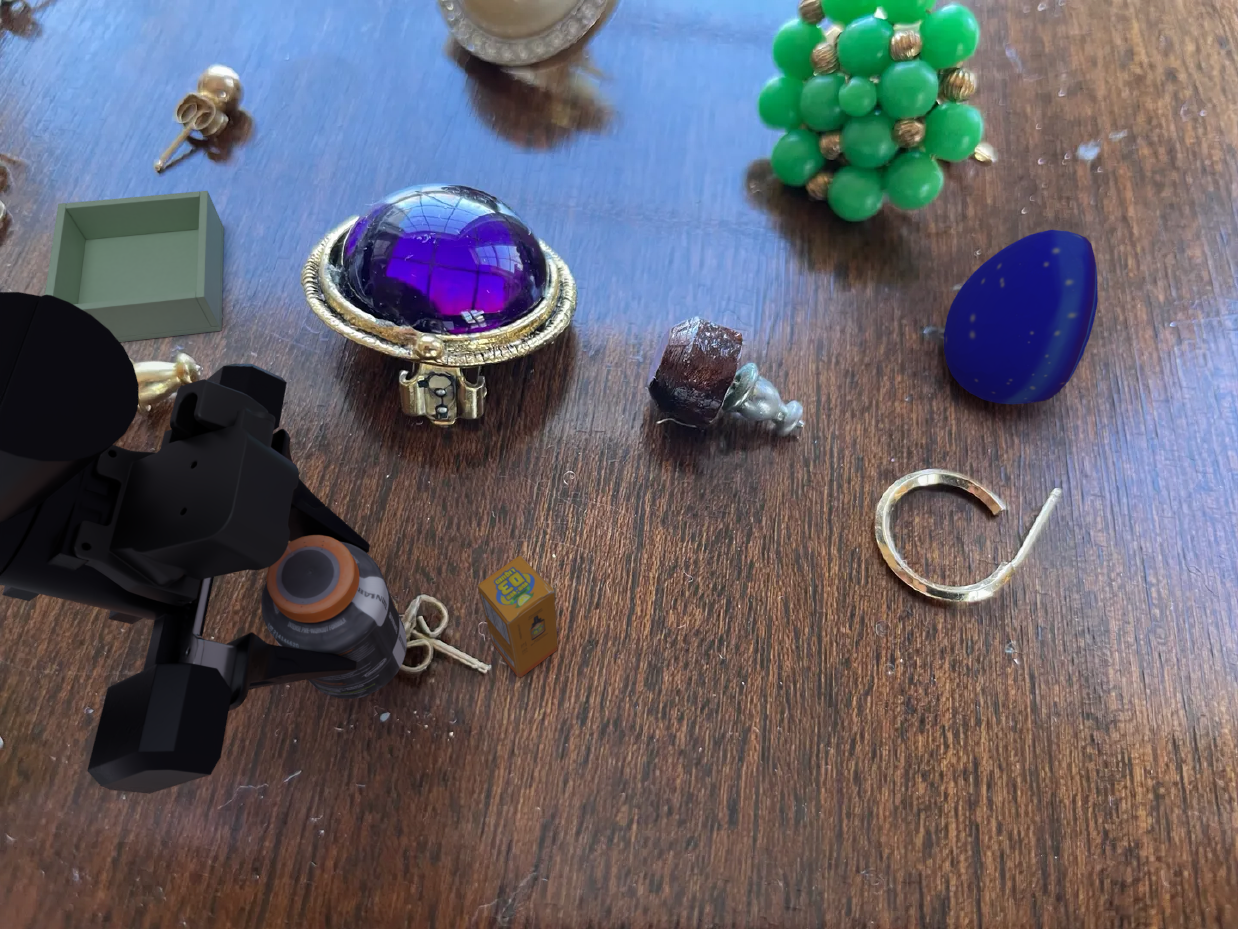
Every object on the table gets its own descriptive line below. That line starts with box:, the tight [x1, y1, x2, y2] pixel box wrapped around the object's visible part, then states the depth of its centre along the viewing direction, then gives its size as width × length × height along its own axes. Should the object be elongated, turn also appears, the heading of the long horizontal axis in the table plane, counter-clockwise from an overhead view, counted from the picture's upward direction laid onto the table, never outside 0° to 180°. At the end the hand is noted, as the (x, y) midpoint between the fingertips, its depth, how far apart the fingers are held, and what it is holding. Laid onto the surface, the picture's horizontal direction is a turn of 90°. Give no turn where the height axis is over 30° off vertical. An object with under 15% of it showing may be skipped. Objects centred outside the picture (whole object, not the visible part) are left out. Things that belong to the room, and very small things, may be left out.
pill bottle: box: [260, 535, 408, 700], centre depth 45 cm, size 6×6×11 cm
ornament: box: [943, 229, 1099, 405], centre depth 65 cm, size 11×9×15 cm
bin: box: [44, 190, 225, 343], centre depth 69 cm, size 11×11×4 cm
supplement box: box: [477, 555, 559, 678], centre depth 53 cm, size 3×3×10 cm
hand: (359, 608), depth 45 cm, fingers closed on pill bottle, 6 cm apart
